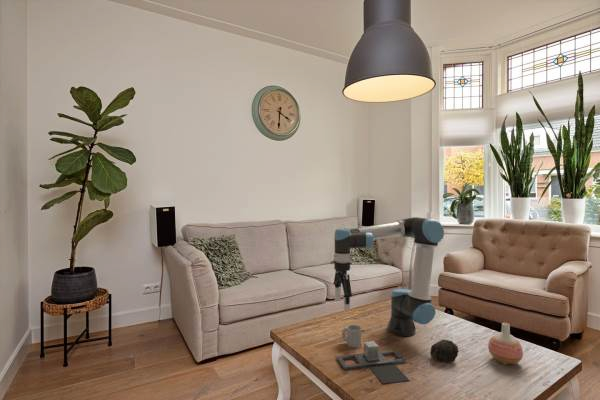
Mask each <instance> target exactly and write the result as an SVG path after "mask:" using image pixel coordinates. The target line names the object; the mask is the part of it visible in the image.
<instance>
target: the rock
mask: <svg viewBox="0 0 600 400" xmlns="http://www.w3.org/2000/svg"><path fill="white" fill-rule="evenodd" d="M458 354H459V347H458V345H457V344H456V343H454V342H453V341H451V340H449V339H441V340H440V341H437V342H435V343H434V344H432V345H431V347H430V352H429V355H430V357H431V358H432V359H434V360H435V361H437V362H444V363H445V362H446V363H454V361H455V360H457V359H456V358H457V357H458Z"/></svg>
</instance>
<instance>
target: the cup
mask: <svg viewBox="0 0 600 400" xmlns="http://www.w3.org/2000/svg"><path fill="white" fill-rule="evenodd" d="M341 338H342V340H343V341H344V342H346V345H347V347H349V348H352V349H358V348H361V346H362V327H361V325H357V324H349V325H347V327H346V328H345V327H344V329H342V332H341Z"/></svg>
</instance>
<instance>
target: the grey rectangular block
mask: <svg viewBox="0 0 600 400" xmlns="http://www.w3.org/2000/svg"><path fill="white" fill-rule="evenodd" d="M378 352H380V351H379V345H378V344H377V343H376V342H375V340H371V341H370V340H369V341H364V342H363V353H364V359H365V360H366V362H367V363H368V362H377V361H378Z"/></svg>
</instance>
